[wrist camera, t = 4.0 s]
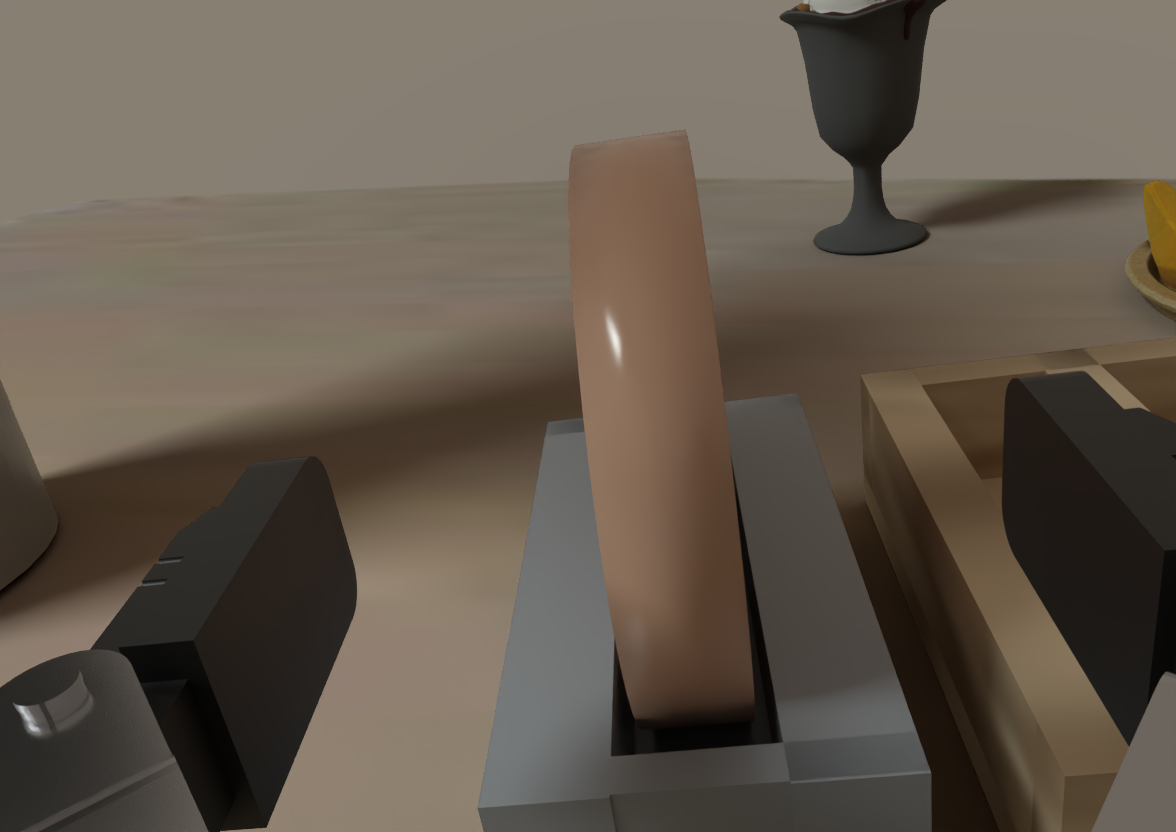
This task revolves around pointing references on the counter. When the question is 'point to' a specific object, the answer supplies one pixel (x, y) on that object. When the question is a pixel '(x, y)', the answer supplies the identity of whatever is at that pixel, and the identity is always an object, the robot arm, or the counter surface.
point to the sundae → (864, 103)
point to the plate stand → (779, 662)
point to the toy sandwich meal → (1157, 250)
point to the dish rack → (996, 574)
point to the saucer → (658, 432)
